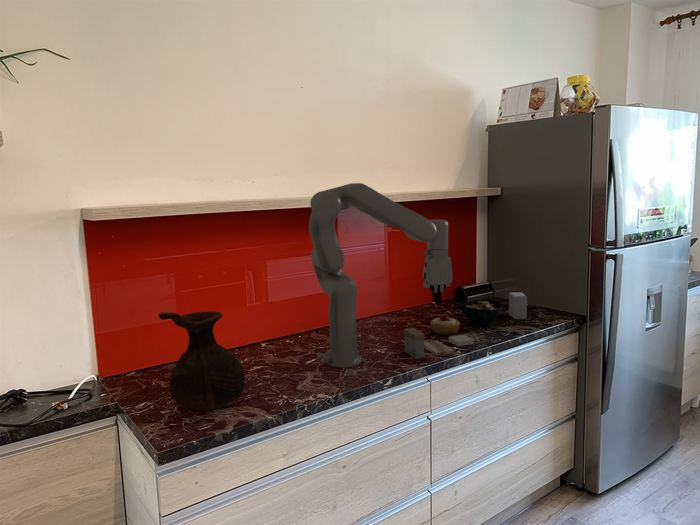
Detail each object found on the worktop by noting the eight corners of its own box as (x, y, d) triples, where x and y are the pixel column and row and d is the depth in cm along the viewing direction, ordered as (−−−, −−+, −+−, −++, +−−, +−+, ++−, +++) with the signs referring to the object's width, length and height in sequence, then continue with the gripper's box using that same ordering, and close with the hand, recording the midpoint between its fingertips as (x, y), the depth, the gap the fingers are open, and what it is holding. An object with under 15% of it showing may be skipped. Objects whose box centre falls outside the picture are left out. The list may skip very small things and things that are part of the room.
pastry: (424, 333, 220) (423, 312, 219) (444, 327, 227) (443, 307, 226) (446, 338, 210) (445, 317, 209) (466, 332, 217) (465, 311, 216)
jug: (173, 393, 163) (165, 299, 159) (244, 385, 168) (238, 293, 164) (165, 424, 142) (155, 316, 138) (247, 414, 147) (240, 309, 143)
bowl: (453, 324, 230) (453, 302, 228) (476, 316, 241) (476, 295, 239) (487, 331, 217) (487, 308, 215) (509, 323, 228) (509, 300, 227)
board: (436, 355, 190) (436, 352, 190) (420, 345, 202) (420, 342, 202) (454, 353, 192) (454, 350, 192) (436, 343, 204) (436, 340, 204)
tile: (457, 341, 200) (473, 339, 202) (448, 336, 206) (464, 334, 208) (457, 347, 200) (473, 344, 202) (448, 342, 206) (464, 339, 209)
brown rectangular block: (415, 359, 187) (414, 335, 186) (404, 351, 196) (403, 329, 195) (424, 357, 189) (424, 334, 187) (413, 350, 197) (413, 327, 196)
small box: (526, 318, 235) (527, 295, 233) (513, 319, 235) (514, 296, 233) (521, 314, 242) (521, 291, 241) (508, 314, 243) (509, 292, 241)
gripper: (424, 255, 187) (423, 306, 190) (460, 253, 192) (459, 302, 195) (414, 253, 194) (414, 302, 197) (450, 251, 199) (449, 298, 202)
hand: (436, 302), depth 196 cm, fingers closed
